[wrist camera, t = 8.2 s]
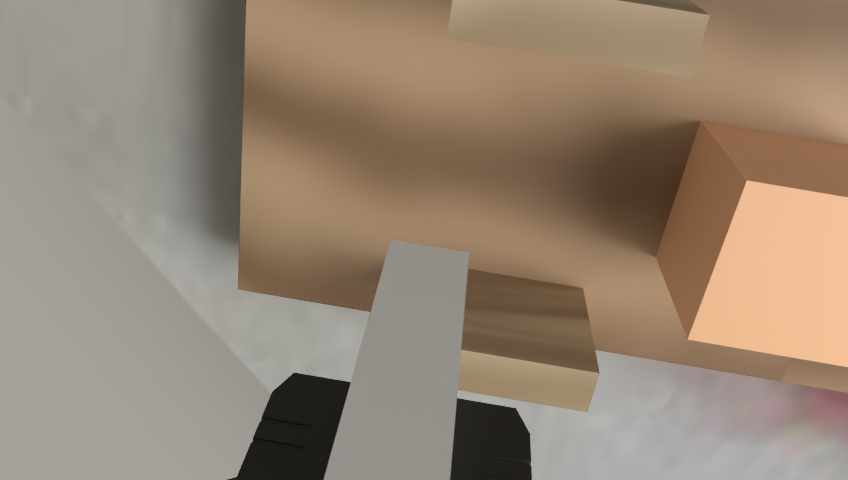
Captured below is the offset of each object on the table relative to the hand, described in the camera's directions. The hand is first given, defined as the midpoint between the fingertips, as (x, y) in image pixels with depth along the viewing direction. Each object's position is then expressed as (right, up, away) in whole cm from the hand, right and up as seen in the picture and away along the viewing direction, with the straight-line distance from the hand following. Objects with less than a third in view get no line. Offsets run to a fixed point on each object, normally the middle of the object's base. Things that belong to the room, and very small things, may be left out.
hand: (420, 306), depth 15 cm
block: (+11, +2, +10) cm, 15 cm away
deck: (+8, +5, +13) cm, 16 cm away
